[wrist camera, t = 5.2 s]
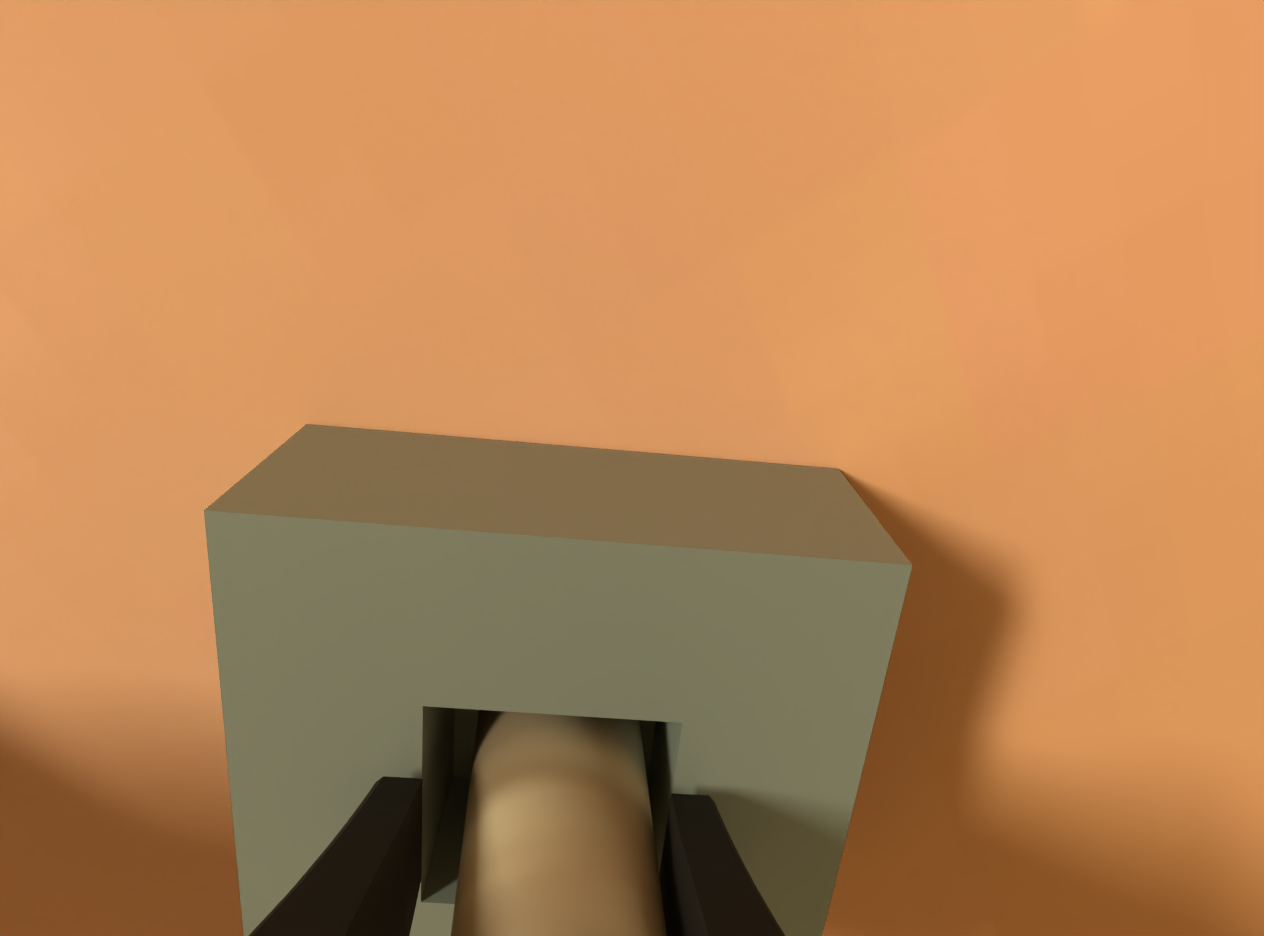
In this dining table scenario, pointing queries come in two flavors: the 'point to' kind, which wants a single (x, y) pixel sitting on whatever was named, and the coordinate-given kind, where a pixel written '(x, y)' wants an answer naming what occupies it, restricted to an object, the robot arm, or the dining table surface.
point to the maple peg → (558, 830)
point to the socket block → (545, 640)
